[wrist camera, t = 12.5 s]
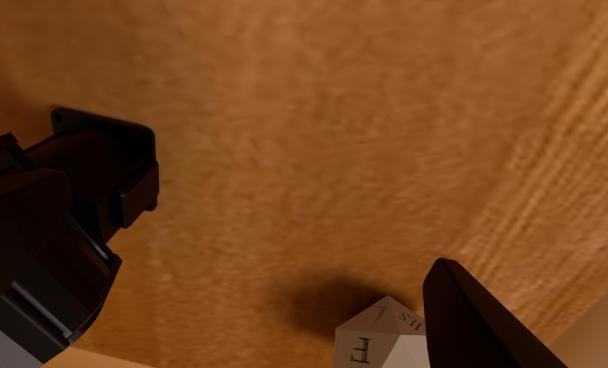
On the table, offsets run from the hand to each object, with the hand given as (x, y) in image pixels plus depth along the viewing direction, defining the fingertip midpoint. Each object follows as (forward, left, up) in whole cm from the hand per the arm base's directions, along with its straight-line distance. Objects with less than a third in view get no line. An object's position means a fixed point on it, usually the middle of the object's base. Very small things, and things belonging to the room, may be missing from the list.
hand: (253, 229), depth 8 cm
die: (+11, -18, -13) cm, 25 cm away
